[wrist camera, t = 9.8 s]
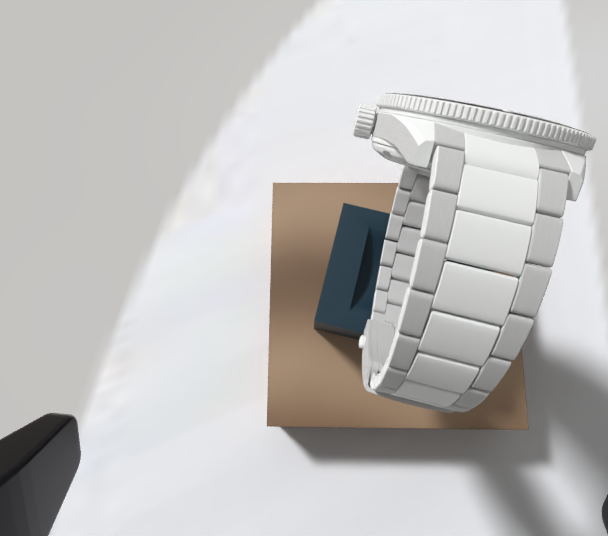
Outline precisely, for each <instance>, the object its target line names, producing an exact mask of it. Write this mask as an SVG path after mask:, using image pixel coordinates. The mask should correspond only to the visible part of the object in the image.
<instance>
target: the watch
mask: <svg viewBox="0 0 608 536" xmlns="http://www.w3.org/2000/svg"><path fill="white" fill-rule="evenodd" d="M377 106H378V107H380V110H379V112H378V113H377V114H376V107H374V106H370V105H365V104H361V105H360V107H359V110H358V113H357V116H356V120H355V125H354V136H356V137H360V138H365V139H369V137H370V135H371V134H372V139H371V140H372V141H373V142H372V146H373V149H374V150H375V151H377V152H378V153H379V154H380V155H382V156H383V157H384V158H386V159H388V160H390V161H393V162H396V163H399V164H402V165H403V169H402V172H401V176H400V180H399V184H398V187H397V190H396V194H395V198H394V202H393V207H392V212H393V213H385V212H381V211H377V210H372V209H368V208H364V207H360V206H355V205H351V204H347V203H343V207H342V211H341V215H340V219H339V223H338V227H337V231H336V235H335V239H334V243H333V247H332V251H331V255H330V259H329V263H328V267H327V271H326V275H325V279H324V283H323V287H322V291H321V295H320V299H319V303H318V307H317V311H316V315H315V319H314V329H318V330H322V331H326V332H329V333H333V334H337V335H341V336H345V337H349V338H353V339H357V340H359V348H362V377H363V385H364V387H365V389H366V391H368V392H370V393H373V394H376V395H379V396H382V397H385V398H388V399H391V400H394V401H398V402H401V403H405V404H408V405H412V406H416V407H420V408H425V409H429V410H434V411H440V412H446V413H452V412H454V411H458V412H466V411H469V410H470V409H471V408H474V407H476V406H477V405H478V404H480V403H481V402H482V401H483V400H484V399H485V398H486V397H487V396H488V395H489V391H492V390H493V389H494V388H495V387H496V386H497V384H498V383H499V382H500V380H501V379H502V378H503V376H504V375H505V373H506V372H507V370H508V369H509V367H510V365H511V360H512V361H513V360H515V358H516V357H517V355H518V353H519V352H520V350H521V348H522V346H523V344H524V342H525V341H526V339H527V337H528V334H529V332H530V330H531V328H532V326H533V323H534V320H533V319H532V318H531V317H535V316H536V314H537V312H538V309H539V307H540V305H541V302H542V300H543V297H544V294H545V291H546V289H547V286H548V283H549V280H550V277H551V273H552V270H551V269H548V268H544V267H551V266H552V265H553V263H554V260H555V256H556V253H557V249H558V245H559V241H560V236H561V231H562V227H563V219H560V218H561V217H562V216H563V214H564V210H565V204H566V200H571V201H576V200H577V197H578V195H579V192H580V190H581V187H582V184H583V181H584V176H585V167H586V156H584V155H585V153H586V151H589V150H592V149H593V147H594V144H595V142H596V138H595V137H593V136H591V135H590V134H588V133H586V132H583V131H580V130H577V129H574V128H572V127H569V126H566V125H563V124H560V123H557V122H553V121H550V120H546V119H543V118H539V117H535V116H531V115H527V114H523V113H518V112H514V111H512V110H508V109H500V108H495V107H490V106H485V105H480V104H475V103H469V102H464V101H458V100H452V99H446V98H439V97H432V96H424V95H414V94H395V93H386V94H381V95H379V96H378V100H377ZM409 198H410V199H409ZM413 199H414V200H413ZM417 200H418V201H417ZM395 213H397V214H395ZM399 214H401V215H399ZM403 215H404V216H403ZM525 262H526V263H525ZM527 263H531V264H527ZM532 264H535V265H532ZM536 265H539V266H536ZM540 266H543V267H540ZM493 270H494V271H498V272H502V273H506V274H510V275H515V277H512V276H508V275H504V274H500V273H495V272H493ZM509 311H510V312H509Z"/></svg>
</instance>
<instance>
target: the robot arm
mask: <svg viewBox="0 0 608 536" xmlns="http://www.w3.org/2000/svg"><path fill="white" fill-rule="evenodd" d="M80 458H81V450H80V441H79V433H78V424H77V420H76V418H75V417H74V416H73V415H69V414H58V413H49V414H46V415H44V416H42V417H40V418H38V419H37V420H35V421H33V422H31V423H29V424H28V425H26V426H24V427H22V428H20V429H19V430H17V431H15V432H13V433H11V434H9V435H8V436H6V437H4V438H2V439H1V440H0V536H48V535H49V533H50V530H51V528H52V526H53V524H54V521H55V519H56V517H57V515H58V512H59V510H60V508H61V505H62V503H63V501H64V499H65V496H66V494H67V492H68V490H69V487H70V485H71V483H72V481H73V478H74V476H75V474H76V472H77V469H78V466H79V463H80ZM602 519H603V523H604V526H605V528H606V531H607V533H608V494H607V497H606V499H605V501H604V503H603V506H602Z"/></svg>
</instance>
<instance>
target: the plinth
mask: <svg viewBox="0 0 608 536" xmlns="http://www.w3.org/2000/svg"><path fill="white" fill-rule="evenodd" d="M398 184H399V183H273V205H272V245H271V284H270V324H269V364H268V403H267V426H278V427H358V428H437V429H517V430H528V418H527V407H526V395H525V384H524V372H523V361H522V350H520V352H519V353H518V355H517V357H516V358H515V360H513V361H512V360H511V365H510V367H509V369H508V370H507V372H506V373H505V375H504V376H503V378H502V379H501V380H500V382H499V383H498V384H497V386H496V387H495V388H494V389H493V390H492V391H489V395H488V396H487V397H486V398H485V399H484V400H483V401H482V402H481V403H480V404H478V405H477V406H476V407H474V408H471V409H470V410H469V411H466V412H458V411H454V412H452V413H446V412H440V411H434V410H429V409H425V408H420V407H416V406H412V405H408V404H405V403H401V402H398V401H394V400H391V399H388V398H385V397H382V396H379V395H376V394H373V393H370V392H368V391H366V389H365V387H364V385H363V377H362V348H359V340H357V339H353V338H349V337H345V336H341V335H337V334H333V333H329V332H326V331H322V330H318V329H314V319H315V315H316V311H317V307H318V303H319V299H320V295H321V291H322V287H323V283H324V279H325V275H326V271H327V267H328V263H329V259H330V255H331V251H332V247H333V243H334V239H335V235H336V231H337V227H338V223H339V219H340V215H341V211H342V207H343V203H347V204H351V205H355V206H360V207H364V208H368V209H372V210H377V211H381V212H385V213H393V212H392V207H393V202H394V198H395V194H396V190H397V187H398ZM409 199H410V198H409ZM413 200H414V199H413ZM417 201H418V200H417ZM395 214H397V213H395ZM399 215H401V214H399ZM403 216H404V215H403ZM493 272H495V273H500V274H504V275H508V276H512V277H515V275H510V274H506V273H502V272H498V271H494V270H493ZM509 312H510V311H509Z"/></svg>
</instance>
